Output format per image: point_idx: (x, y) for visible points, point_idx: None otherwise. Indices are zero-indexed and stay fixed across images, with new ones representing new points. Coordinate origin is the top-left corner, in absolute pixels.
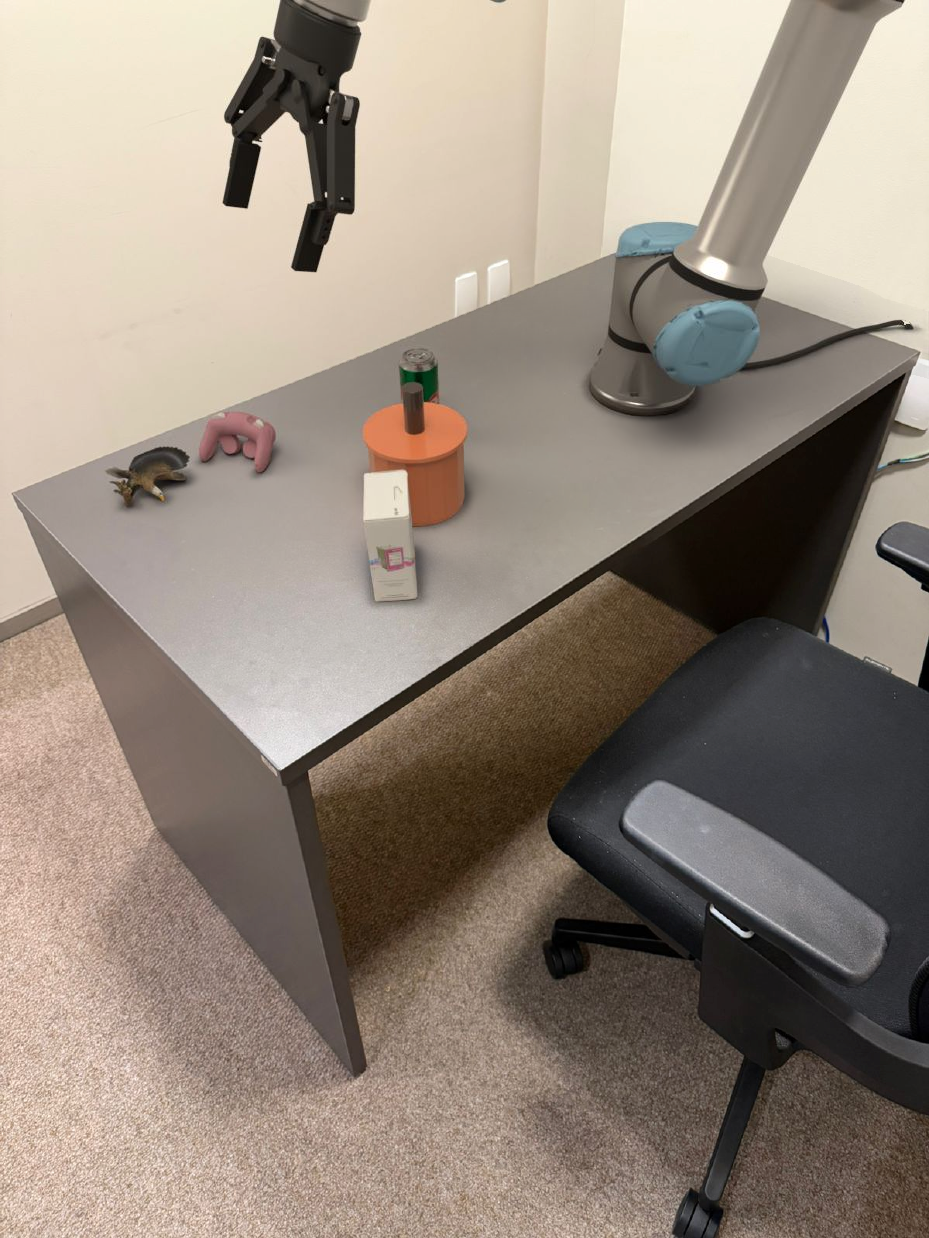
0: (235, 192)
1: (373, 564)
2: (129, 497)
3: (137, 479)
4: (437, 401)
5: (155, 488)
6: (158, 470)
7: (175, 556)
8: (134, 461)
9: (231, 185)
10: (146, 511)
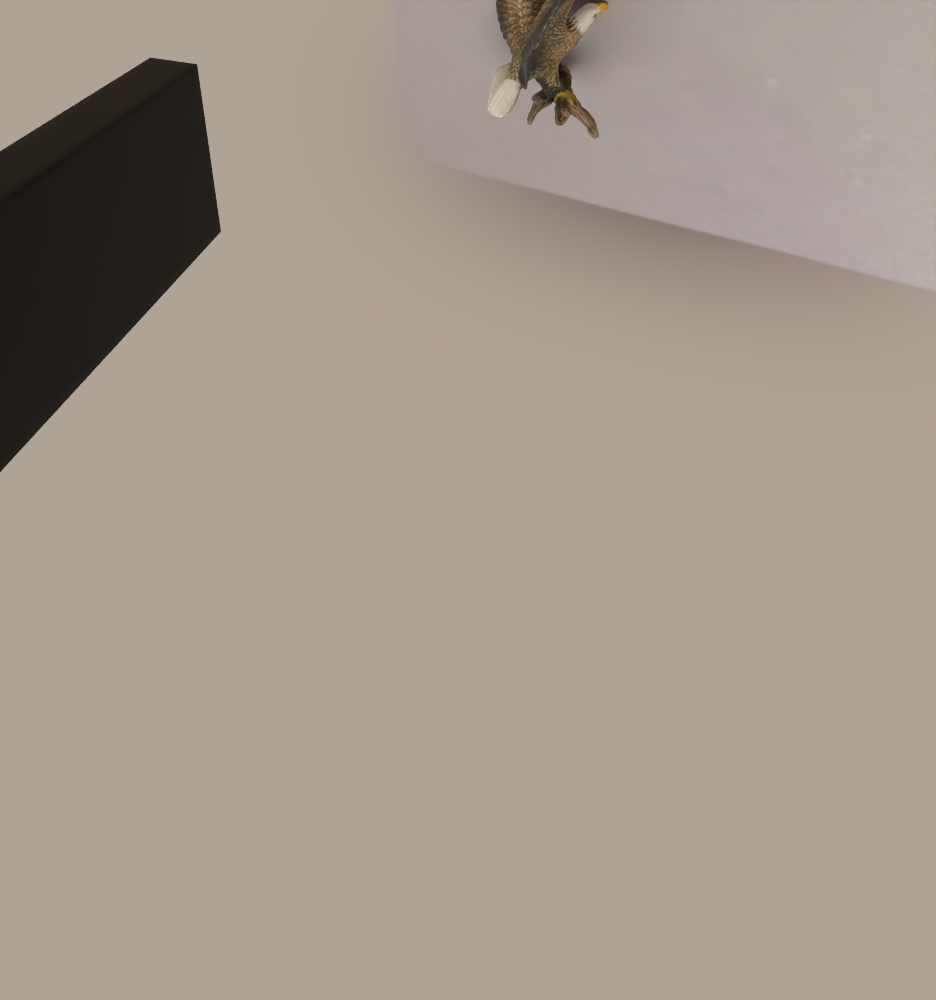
0: (174, 229)
1: None
2: (570, 86)
3: (551, 68)
4: None
5: (583, 27)
6: (557, 17)
7: (795, 126)
8: (523, 79)
9: (159, 285)
10: (610, 55)
